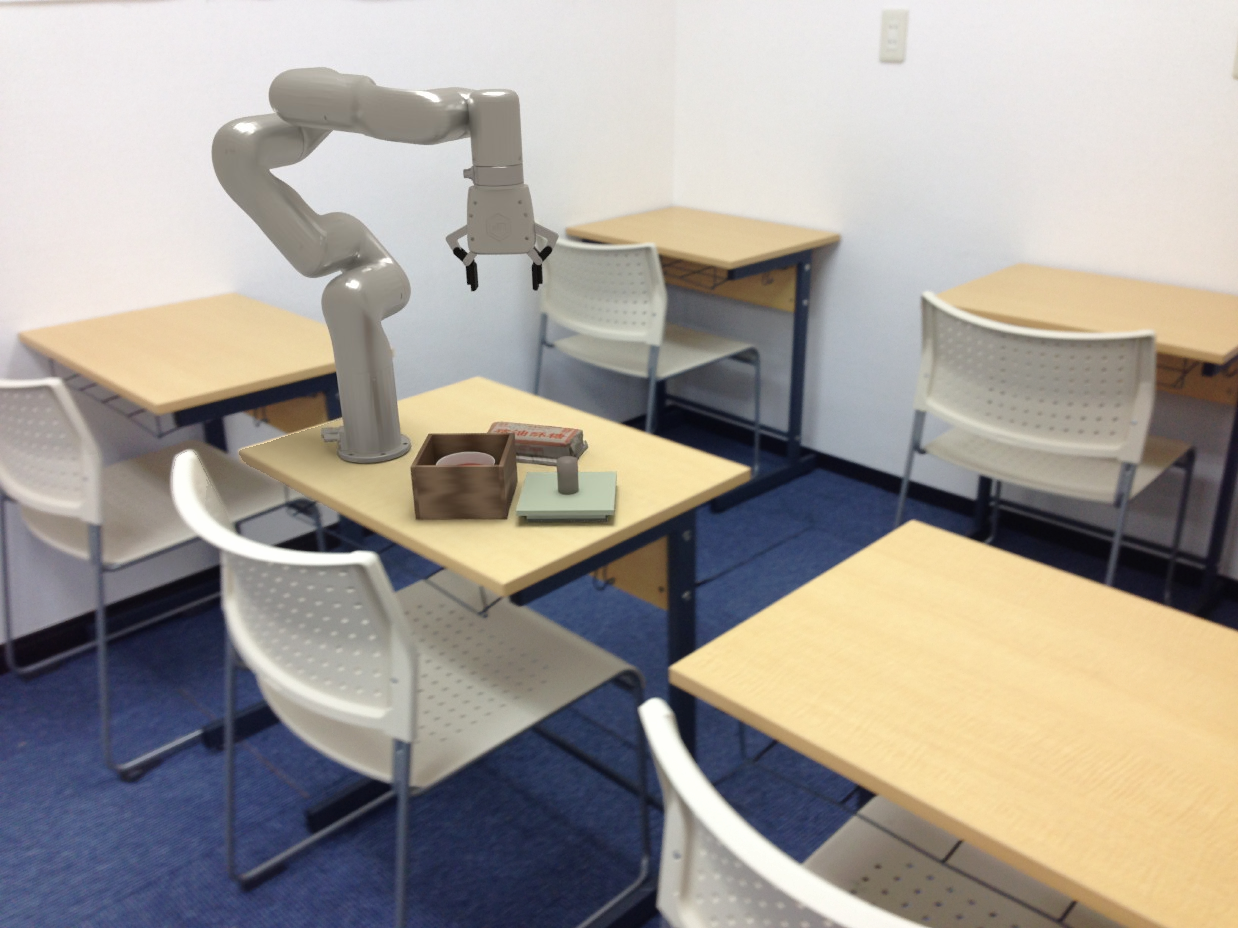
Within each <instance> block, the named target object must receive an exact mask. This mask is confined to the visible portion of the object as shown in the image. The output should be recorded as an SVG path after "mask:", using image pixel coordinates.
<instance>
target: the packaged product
mask: <svg viewBox="0 0 1238 928" xmlns="http://www.w3.org/2000/svg"><path fill="white" fill-rule="evenodd" d="M486 433H515V446H516V461H517V463H521V464H531V465H543V466H544V465H545V466H554V467H557V459H558V458H560V457H564V456H572V457H576V458H577V459H580V457H581V455H582V454H583V453H585V451H586V450H587V449H588V448H589V444H588V441H587V440H584V433H583V430H582V429H579V428H571V427H561V426H555V425H554V426H552V425H543V424H541V425H540V424H531V423H530V424H529V423H520V422H511V421H495V422H492V423H491V424H490V427H489V429H488V431H487V432H486Z"/></svg>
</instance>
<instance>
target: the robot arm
mask: <svg viewBox="0 0 1238 928" xmlns="http://www.w3.org/2000/svg"><path fill="white" fill-rule="evenodd" d="M268 102H269V105H270V107H271V109H272V111H273V113H264V114H256V115H250V116H249V115H248V116H243V117H240V118H239V117H238V118H234V119H233V120H230V121H228V122H226V123H224V124H222V126H221V127H220V128H218V130H217V131H216V133H215V135H214V137H213V138H212V139H213V140H212V142H211V143H212V144H211V162H212V166H213V167H212V168H213V170H214V173H215V177H216V178H217V181H218V182H219V184H220V187H222V189H223V190H224V192H225V194H227V195H228V197H229V198H230V199H231V200H232V201H233V203H235V204H236V205H237V206H238V207H239V208H240V209H241V210H242V211H244V213H245V214H246V215H247V216H248V217H249V218H250V219H251V220H252V221H253V222H254V223H255V224H256V226H258V228H259V229H260V230H261V231H262V232H263V234H264V235H265V236H266V238H268V240H269V241H270V242H271V244H273V246H274V247H276V249H277V250H278V252H280V253H281V255H282V256H283V257H284V258H285V259H286V260H287V262H288V263H289V264H290V266H292V267H293V268H294V270H296V271H297V272H298V273H300V274H301V275H302V276H303V277H305V278H310V279H318V278H319V279H320V278H323V277H326V276H328V275H332V274H335V273H337V272H339V271H340V272H341V273H340V274H337V276H335V277H333V278H332V279H331V280H330V281H329V282H328V283H327V284H326V286H325V287H324V289H323V292H322V294H321V299H320V300H321V301H320V302H321V303H320V304H321V311H322V314H323V315H322V316H323V317H324V321H325V324H326V326H327V330H328V334H329V337H330V341H331V347H332V353H333V359H334V366H335V372H336V377H337V378H336V379H337V387H338V393H339V403H340V410H341V419H342V425H339V427H332V426H327V427H326V426H325V427H321V429H320V435H321V439H323V440H324V443H332V442H337V443H338V445H337V447H336V450H337V455H338V457H340V459H342V460H343V461H344V460H345V461H347V462H351V463H356V464H357V463H359V464H371V463H381V462H386V461H391V460H394V459H398V458H400V457H402V456H403V455H404V454H407V452H409V451H410V449H411V448H412V447H411V446H412V442H411V439H410V437H408V436H407V435H405V434H404V433H402V432H401V425H400V415H399V407H398V396H397V388H396V378H395V371H394V370H395V369H394V362H393V354H392V353H393V352H392V349H391V344H390V341H389V338H388V336H387V335H386V333H385V330H384V328H383V326H382V325H383V324H382V321H384V320H385V319H388V318H390V317H391V316H394V315H396V314H397V313H399V312H400V311H402V310H403V309H405V307H406V306H407V305H408V304H409V301H410V298H411V293H412V292H411V291H412V287H411V284H410V280H409V278H408V276H407V274H406V272H405V270H404V268H402V266H401V265H400V263H398V261H397V260H396V259H395V257H393V255H391V253H390V252H389V251H388V250H387V248H386V247H385V246H384V245H383V243H381V241H380V240H379V239H378V238H377V237H376V235H374V233H373V232H372V231H371V230H370V229H369V228H368V226H366V224H365V223H364V222H362V221H361V220H360V219H358V218H357V217H356V216H354V215H351V214H350V213H347V212H343V211H333V212H329V213H325V214H318V213H317V211H314V210H313V208H311V206H310V205H309V204H308V203H307V202H306V201H305V200H304V198H303V197H302V196H301V195H300V194H299V192H297V191H296V190H295V189H294V188H293V187H292V186H291V185H289V184H288V183H286V182H285V181H284V180H282V179H280V178H279V177H277V176H276V175H274V174H273V173H272V172H271V171H270V170H272V169H278V168H282V167H287V166H292V165H296V164H298V163H301V162H302V161H304V160H305V159H306V158H307V157H308V156H310V155H311V154H312V152H314V150H316V149H317V148H318V147H319V146H320V145H321V144H322V142H323V141H325V139H326V138H328V137H329V136H330V134H331V133H333V131H336V132H343V133H352V134H360V135H364V136H365V137H368V138H369V137H370V138H373V139H377V140H381V141H387V142H391V143H393V142H394V143H403V144H409V145H421V146H433V145H439V144H443V143H447V142H453V141H457V140H463V139H467V138H470V147H471V149H470V150H471V163H472V165H471V167H469V168H464V169H463V170H462V171H463V172H462V175H463V179H468V180H471V181H472V184H473V185H471V186H468V191H467V197H466V198H467V199H466V224H465V225H463V226H461V227H460V228H458V229H456V230H454V231H453V232H450V233H449V234H447V235H446V237H445V241H446V243H447V245H448V246H449V248H450V249H451V251H452V253H453V255H454V256H455V257H456V258H457V259H459V261H461V263H462V264H463V266H465V276H466V277H465V278H466V285H468V286H470V292H476V291H477V290H478V288H479V276H478V275H479V274H478V263H477V262H476V260H475V259H476V257H477V255H480V256H481V255H482V256H484V255H485V256H488V255H489V256H490V255H491V256H493V255H495V256H497V255H500V256H501V255H503V256H504V255H505V256H506V255H525V254H526V255H527V256H528V257H529V258H530V259H531V260H532V263H531V283H532V284H531V285H532V290H533V291H534V292H535V291H538V290H539V288H540V285H543V283H544V282H543V281H544V280H543V279H544V277H543V262H544V261H546V259H547V258H549V256H550V255H551V254H552V253H553V250H554V248H555V246H556V244H557V242H558V240H559V237H560V236H559V234H558V233H557V232H556V231H553V230H551V229H549V228H547V227H545V226H543V225H542V224H539V223H537V222H535V214H534V207H533V206H534V205H533V202H532V195H531V191H530V188H529V184H527V183H525V182H524V181H525V179H524V165H523V164H524V163H523V162H524V160H523V158H524V157H523V143H522V140H523V139H522V124H521V123H522V122H521V119H522V118H521V103H520V97H519V94H517V92H515V91H514V90H512V89H508V88H488V89H487V88H486V89H484V88H483V89H473V88H472V89H471V88H466V87H460V86H459V87H458V86H457V87H456V86H450V87H442V88H441V87H440V88H431V89H424V90H421V89H420V90H416V89H406V88H395V87H385V86H380V85H377V83H376V82H375V81H374V79H372V77H370V76H368V75H363V74H352V73H351V74H350V73H341V72H339V71H337V70H336V69H333V68H330V67H326V66H325V67H324V66H316V67H315V66H314V67H300V68H299V67H297V68H291V69H288V70H285V71H282V72H280V73H279V74H278V75H276V76H275V77H274V78H273V80H272V82H271V83H270V86H269V88H268ZM537 235H539V236H541V237H543V238H545V239H546V240H547V242H546V244H545V246H544V248H542V250H539V249H538V247H536V246H535V245H536V242H537V241H536V240H537V239H536V237H537ZM465 236H466V237H467V238H466V239H467V247H468V251H469V252H467V251H466V250H465V249H464V248H463V247H462V246H460V242H459V240H460V239H461V238H463V237H465Z"/></svg>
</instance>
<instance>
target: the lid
mask: <svg viewBox="0 0 1238 928" xmlns="http://www.w3.org/2000/svg"><path fill="white" fill-rule="evenodd" d="M578 459H579V458H578ZM578 459H577V458H576V457H572V456H564V457H560V458H558V459H557V466H556V471H526V474H525V478H524V480H523V483H522V487H521V491H520V495H519V500H518V502H517V506H516V509H515V514H516V517H517V516H519V517H520V516H522V517H523V516H525V517H526V520H527V519H603V518H605V516H606V515H608V516H615V507H616V504H615V503H616V495H617V494H616V491H617V481H618V480H617V477H618V471H615V470H614V471H613V470H612V471H579V463H578V462H579V460H578Z"/></svg>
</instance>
